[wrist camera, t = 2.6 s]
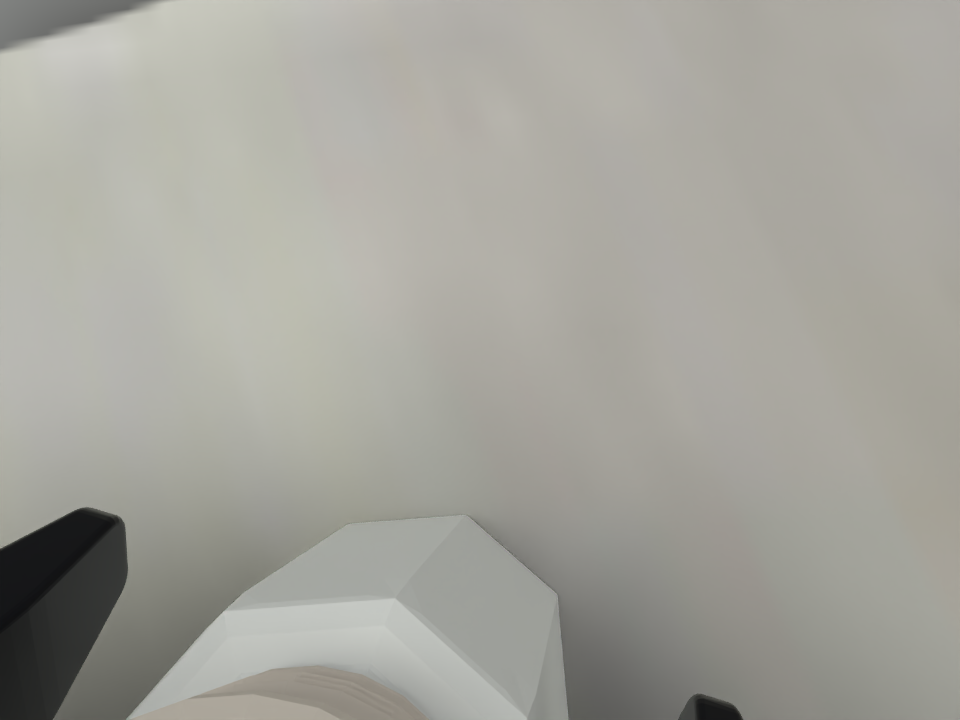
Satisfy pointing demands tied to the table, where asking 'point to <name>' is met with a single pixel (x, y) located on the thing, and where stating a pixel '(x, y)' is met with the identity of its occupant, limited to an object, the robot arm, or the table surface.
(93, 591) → the robot arm
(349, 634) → the pepper shaker
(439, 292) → the table surface
